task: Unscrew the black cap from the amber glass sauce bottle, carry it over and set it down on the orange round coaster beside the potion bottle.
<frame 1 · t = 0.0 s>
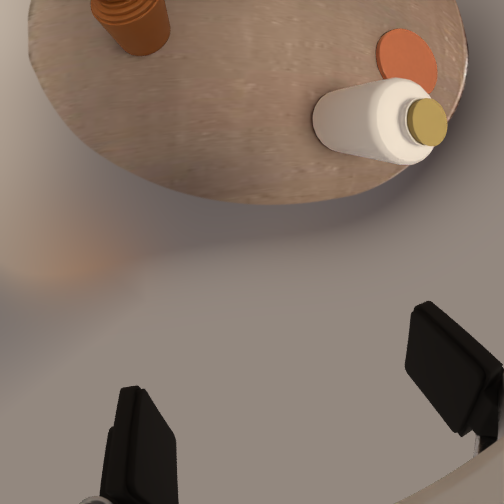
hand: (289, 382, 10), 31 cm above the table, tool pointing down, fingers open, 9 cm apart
orange round coaster: (406, 63, 35), on the table
potion bottle: (339, 121, 38), on the table
sauce bottle: (144, 32, 29), on the table
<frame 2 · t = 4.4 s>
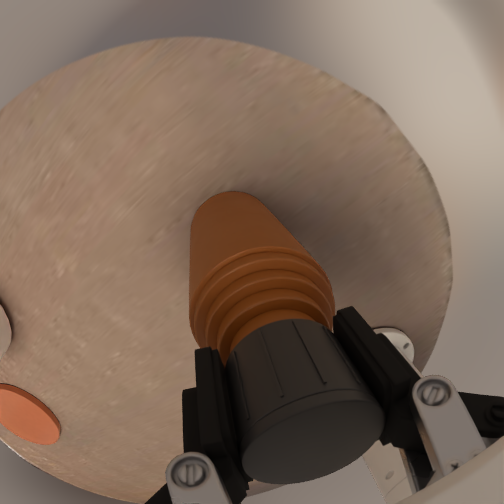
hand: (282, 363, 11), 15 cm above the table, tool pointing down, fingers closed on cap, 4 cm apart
orange round coaster: (23, 414, 28), on the table
sauce bottle: (232, 232, 24), on the table
cap: (312, 439, 7), point 19 cm above the table, screwed on, not yet turned, touching gripper
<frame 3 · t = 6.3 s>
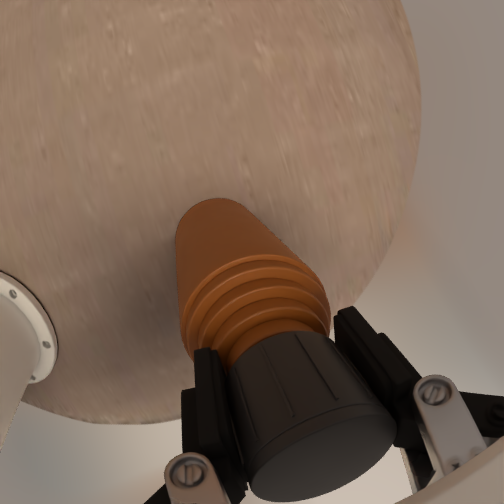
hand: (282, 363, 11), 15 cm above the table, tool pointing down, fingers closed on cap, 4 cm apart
sauce bottle: (217, 240, 24), on the table, touching gripper
cap: (323, 455, 7), point 19 cm above the table, turned 112° so far, risen 0.1 cm, still on its thread, touching gripper
when the fingers open (15 cm above the table, at t = 11.6 s): cap stays where it is, point 19 cm above the table.
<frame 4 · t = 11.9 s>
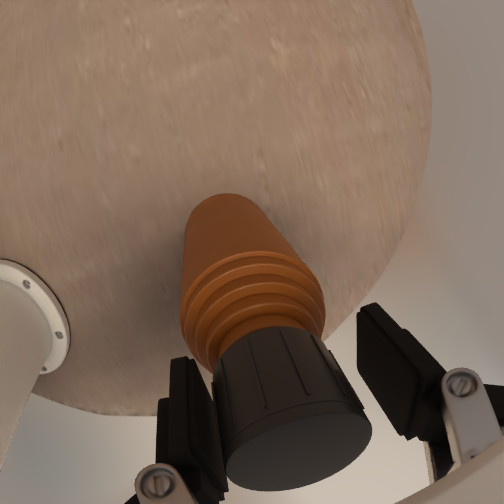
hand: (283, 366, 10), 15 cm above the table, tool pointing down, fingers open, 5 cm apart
sauce bottle: (226, 234, 24), on the table
cap: (298, 448, 7), point 19 cm above the table, turned 112° so far, risen 0.1 cm, still on its thread
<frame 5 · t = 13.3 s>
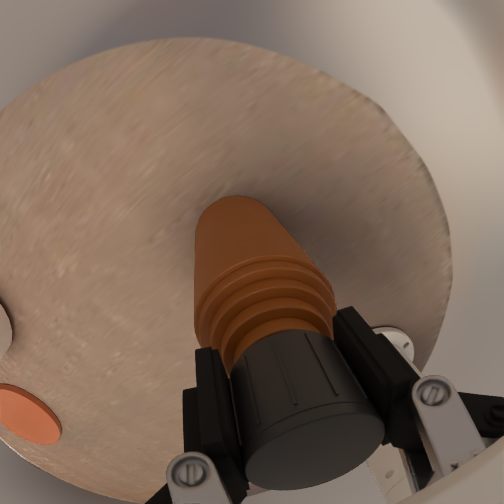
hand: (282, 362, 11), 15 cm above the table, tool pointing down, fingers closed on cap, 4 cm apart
orange round coaster: (24, 414, 28), on the table
sauce bottle: (236, 236, 25), on the table
cap: (314, 448, 7), point 19 cm above the table, turned 112° so far, risen 0.1 cm, still on its thread, touching gripper
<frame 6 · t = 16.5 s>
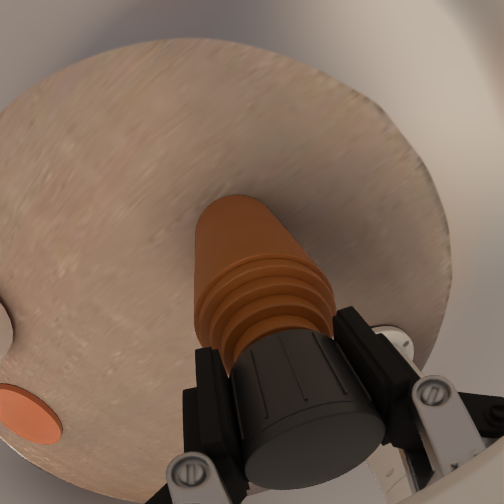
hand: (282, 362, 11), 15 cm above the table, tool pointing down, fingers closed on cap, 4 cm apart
orange round coaster: (25, 414, 28), on the table
sauce bottle: (236, 235, 25), on the table
cap: (314, 447, 7), point 19 cm above the table, turned 223° so far, risen 0.2 cm, still on its thread, touching gripper
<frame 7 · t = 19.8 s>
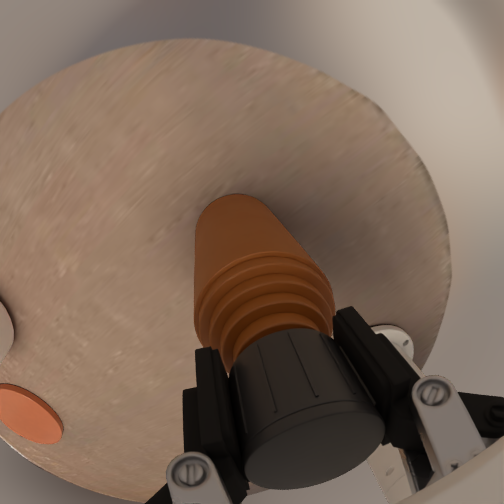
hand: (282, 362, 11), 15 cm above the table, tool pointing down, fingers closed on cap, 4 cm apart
orange round coaster: (26, 413, 28), on the table
sauce bottle: (236, 234, 25), on the table
cap: (314, 447, 7), point 19 cm above the table, turned 335° so far, risen 0.4 cm, still on its thread, touching gripper
when the fingers open (2 cm above the table, at t = 30.8 s): cap drops 2 cm, resting on orange round coaster.
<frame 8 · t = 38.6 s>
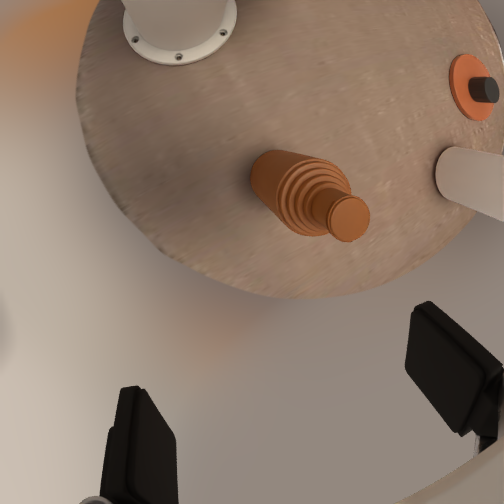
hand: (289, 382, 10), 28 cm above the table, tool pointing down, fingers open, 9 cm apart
orange round coaster: (471, 87, 35), on the table
potion bottle: (449, 172, 40), on the table
sauce bottle: (277, 177, 36), on the table
cap: (490, 89, 31), point 4 cm above the table, off its thread, touching orange round coaster
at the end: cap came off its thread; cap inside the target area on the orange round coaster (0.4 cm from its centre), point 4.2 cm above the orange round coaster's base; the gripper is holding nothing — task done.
